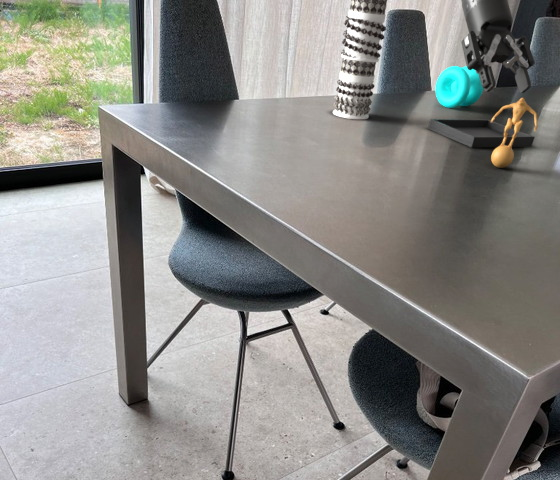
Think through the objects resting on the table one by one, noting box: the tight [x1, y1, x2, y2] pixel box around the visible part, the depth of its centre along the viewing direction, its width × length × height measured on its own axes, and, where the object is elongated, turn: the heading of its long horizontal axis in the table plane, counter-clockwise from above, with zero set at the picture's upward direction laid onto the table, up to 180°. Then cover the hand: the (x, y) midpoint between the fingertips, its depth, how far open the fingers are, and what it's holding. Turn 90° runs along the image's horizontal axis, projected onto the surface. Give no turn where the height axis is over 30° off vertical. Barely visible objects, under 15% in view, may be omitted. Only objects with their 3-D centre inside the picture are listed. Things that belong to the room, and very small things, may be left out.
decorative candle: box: [332, 0, 388, 120], centre depth 125 cm, size 9×9×25 cm
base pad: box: [427, 118, 536, 149], centre depth 126 cm, size 17×15×2 cm
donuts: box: [434, 65, 484, 109], centre depth 153 cm, size 10×10×10 cm
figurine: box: [490, 97, 538, 169], centre depth 105 cm, size 8×6×12 cm
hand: (508, 89), depth 103 cm, fingers open, 8 cm apart
